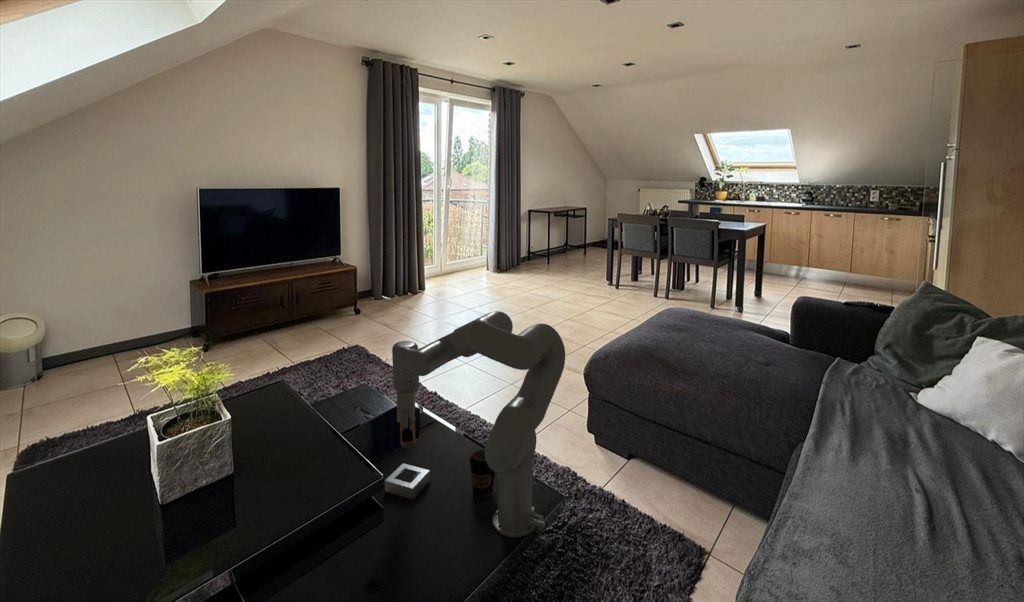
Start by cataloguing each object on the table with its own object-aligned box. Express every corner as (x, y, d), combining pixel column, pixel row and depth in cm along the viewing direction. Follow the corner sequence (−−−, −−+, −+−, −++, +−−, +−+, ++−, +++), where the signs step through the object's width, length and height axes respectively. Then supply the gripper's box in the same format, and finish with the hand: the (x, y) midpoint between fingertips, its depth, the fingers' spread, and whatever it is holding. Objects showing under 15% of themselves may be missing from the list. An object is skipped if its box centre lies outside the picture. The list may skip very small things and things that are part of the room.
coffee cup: (492, 502, 149) (493, 465, 145) (466, 498, 150) (466, 461, 147) (499, 485, 157) (499, 449, 154) (474, 481, 159) (474, 445, 155)
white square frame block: (429, 481, 158) (429, 470, 157) (412, 499, 149) (412, 488, 148) (403, 473, 162) (403, 463, 161) (385, 491, 153) (384, 480, 152)
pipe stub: (419, 441, 153) (418, 415, 151) (410, 449, 149) (409, 422, 146) (405, 437, 155) (405, 412, 152) (396, 445, 150) (395, 419, 148)
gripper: (395, 371, 154) (397, 423, 159) (390, 395, 138) (392, 452, 142) (420, 370, 155) (421, 422, 160) (417, 394, 139) (419, 451, 143)
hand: (407, 436), depth 151 cm, fingers closed on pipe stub, 4 cm apart
